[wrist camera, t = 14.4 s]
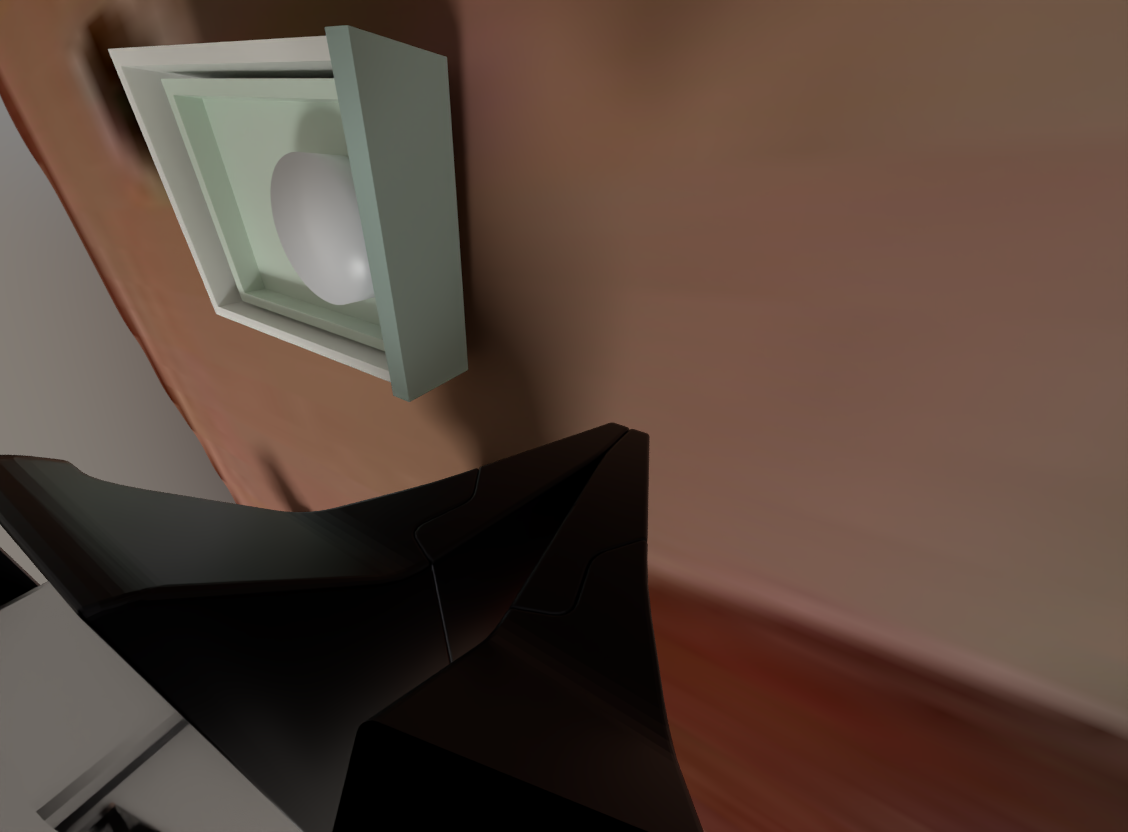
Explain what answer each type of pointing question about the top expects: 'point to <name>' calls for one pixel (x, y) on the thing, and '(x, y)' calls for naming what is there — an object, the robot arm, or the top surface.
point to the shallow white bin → (174, 166)
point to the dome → (321, 225)
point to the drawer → (382, 185)
